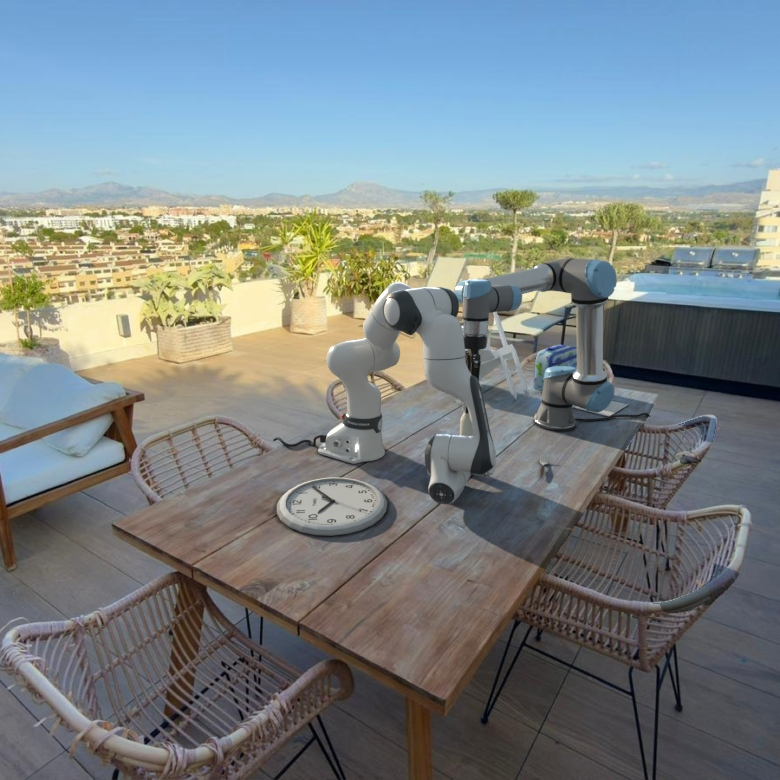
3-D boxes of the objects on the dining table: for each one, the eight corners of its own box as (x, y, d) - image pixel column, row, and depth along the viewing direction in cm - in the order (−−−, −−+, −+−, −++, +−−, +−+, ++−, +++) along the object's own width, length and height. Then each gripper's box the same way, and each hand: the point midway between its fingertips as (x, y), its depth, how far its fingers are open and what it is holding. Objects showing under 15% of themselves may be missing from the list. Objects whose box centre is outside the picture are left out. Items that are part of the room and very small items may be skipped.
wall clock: (392, 527, 129) (268, 531, 127) (391, 533, 130) (269, 537, 127) (383, 473, 158) (282, 475, 155) (383, 478, 158) (282, 480, 156)
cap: (476, 412, 156) (477, 405, 155) (462, 412, 156) (462, 404, 156) (476, 407, 160) (476, 400, 159) (461, 407, 161) (462, 400, 160)
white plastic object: (461, 429, 252) (437, 405, 227) (444, 352, 274) (420, 323, 250) (535, 404, 240) (518, 377, 215) (510, 326, 262) (492, 293, 237)
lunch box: (550, 397, 237) (555, 352, 231) (529, 391, 245) (533, 348, 238) (577, 386, 255) (582, 344, 249) (556, 381, 262) (561, 340, 256)
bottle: (465, 476, 161) (469, 409, 154) (453, 470, 165) (457, 404, 158) (476, 471, 164) (481, 405, 157) (464, 466, 168) (469, 401, 161)
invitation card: (608, 416, 214) (573, 407, 224) (608, 416, 214) (573, 408, 224) (628, 404, 229) (594, 396, 238) (628, 405, 229) (594, 397, 238)
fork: (536, 478, 160) (536, 472, 159) (540, 458, 174) (541, 452, 173) (545, 480, 159) (545, 474, 158) (548, 459, 173) (549, 453, 173)
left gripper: (492, 465, 146) (501, 447, 159) (423, 453, 153) (436, 437, 166) (491, 486, 148) (499, 466, 161) (422, 473, 155) (435, 455, 168)
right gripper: (457, 328, 160) (453, 400, 167) (465, 340, 143) (460, 420, 150) (482, 328, 160) (476, 401, 167) (492, 340, 143) (486, 420, 150)
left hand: (466, 451), depth 163 cm, fingers closed on bottle, 5 cm apart
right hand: (469, 410), depth 158 cm, fingers closed on cap, 4 cm apart
